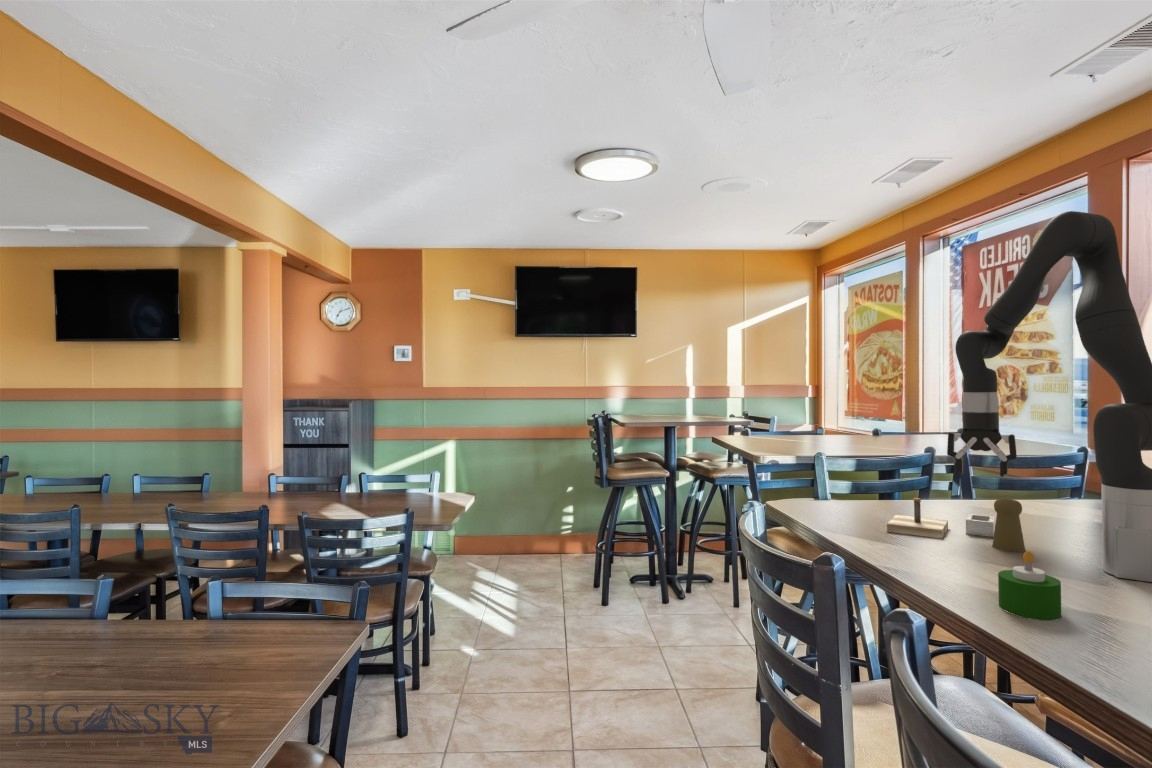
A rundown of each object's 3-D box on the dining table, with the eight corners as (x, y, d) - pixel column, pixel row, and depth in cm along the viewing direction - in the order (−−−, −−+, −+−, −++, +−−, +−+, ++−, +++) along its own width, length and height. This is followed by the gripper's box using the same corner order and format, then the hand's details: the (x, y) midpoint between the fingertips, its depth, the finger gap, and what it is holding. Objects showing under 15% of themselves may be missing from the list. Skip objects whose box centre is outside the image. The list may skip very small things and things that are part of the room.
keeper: (942, 538, 142) (941, 505, 142) (887, 531, 150) (886, 500, 150) (947, 528, 152) (947, 497, 152) (895, 522, 159) (895, 492, 159)
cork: (1014, 544, 136) (1013, 496, 136) (1031, 551, 130) (1030, 502, 130) (986, 544, 137) (985, 496, 137) (1002, 551, 131) (1001, 502, 131)
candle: (994, 611, 98) (992, 551, 98) (1004, 597, 104) (1002, 541, 104) (1057, 625, 92) (1056, 561, 92) (1064, 610, 98) (1063, 550, 98)
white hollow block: (993, 537, 143) (993, 522, 143) (966, 533, 146) (965, 519, 146) (995, 530, 149) (995, 516, 149) (968, 527, 152) (968, 513, 152)
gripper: (945, 410, 149) (946, 474, 149) (1015, 411, 140) (1016, 479, 140) (948, 409, 155) (949, 470, 155) (1016, 409, 146) (1017, 475, 146)
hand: (981, 474), depth 148 cm, fingers open, 8 cm apart
